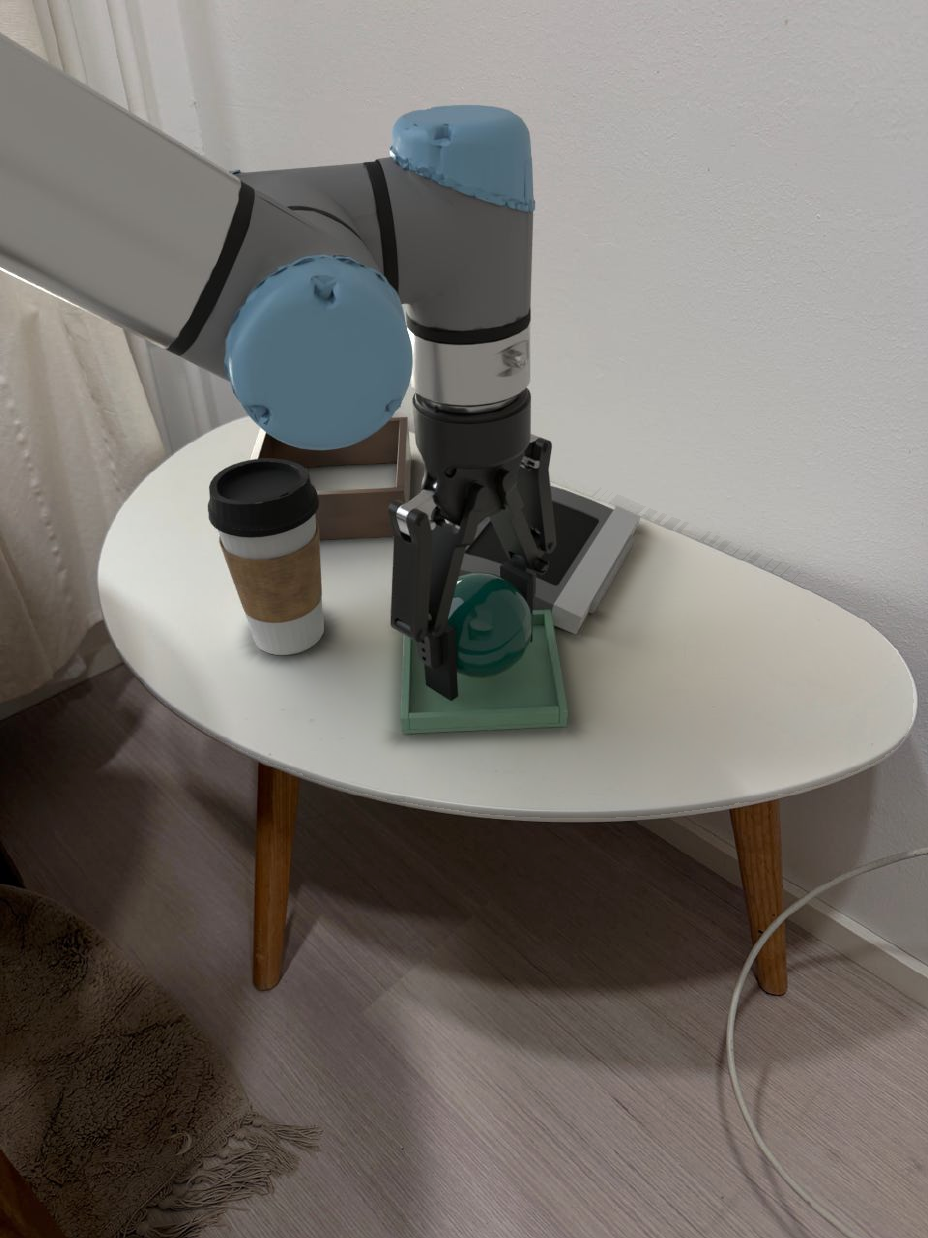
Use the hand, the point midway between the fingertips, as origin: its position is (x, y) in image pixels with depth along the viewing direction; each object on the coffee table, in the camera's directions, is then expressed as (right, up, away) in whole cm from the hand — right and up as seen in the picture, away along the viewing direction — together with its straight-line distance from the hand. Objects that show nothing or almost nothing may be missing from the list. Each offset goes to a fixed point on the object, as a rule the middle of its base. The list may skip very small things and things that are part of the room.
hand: (480, 662), depth 72 cm
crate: (-15, +16, +23) cm, 32 cm away
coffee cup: (-16, +2, +6) cm, 17 cm away
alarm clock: (+5, +9, +13) cm, 17 cm away
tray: (0, -1, +1) cm, 1 cm away
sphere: (0, 0, 0) cm, 0 cm away
